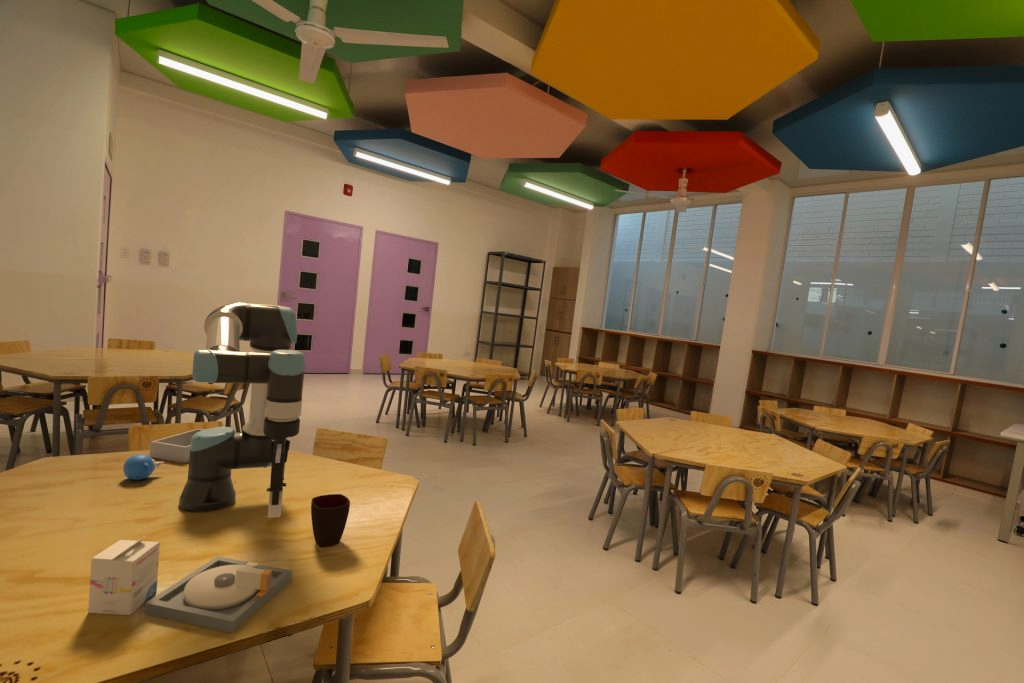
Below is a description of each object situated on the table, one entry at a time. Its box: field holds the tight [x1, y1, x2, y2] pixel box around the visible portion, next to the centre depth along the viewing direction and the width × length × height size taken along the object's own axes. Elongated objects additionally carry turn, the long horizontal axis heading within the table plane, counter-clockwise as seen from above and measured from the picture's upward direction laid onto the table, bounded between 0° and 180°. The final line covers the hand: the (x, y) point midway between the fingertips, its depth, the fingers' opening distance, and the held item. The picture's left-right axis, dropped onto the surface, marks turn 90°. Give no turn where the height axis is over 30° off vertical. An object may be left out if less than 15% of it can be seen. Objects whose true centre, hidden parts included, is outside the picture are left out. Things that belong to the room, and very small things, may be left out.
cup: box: [310, 493, 351, 548], centre depth 137 cm, size 10×14×12 cm
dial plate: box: [143, 555, 293, 634], centre depth 108 cm, size 20×20×3 cm
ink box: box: [87, 534, 161, 616], centre depth 102 cm, size 9×8×13 cm
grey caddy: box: [149, 428, 205, 463], centre depth 196 cm, size 15×23×6 cm, turn 172°
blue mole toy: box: [122, 453, 166, 481], centre depth 166 cm, size 12×12×8 cm
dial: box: [184, 565, 272, 610], centre depth 108 cm, size 18×15×5 cm
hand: (274, 515), depth 113 cm, fingers closed
